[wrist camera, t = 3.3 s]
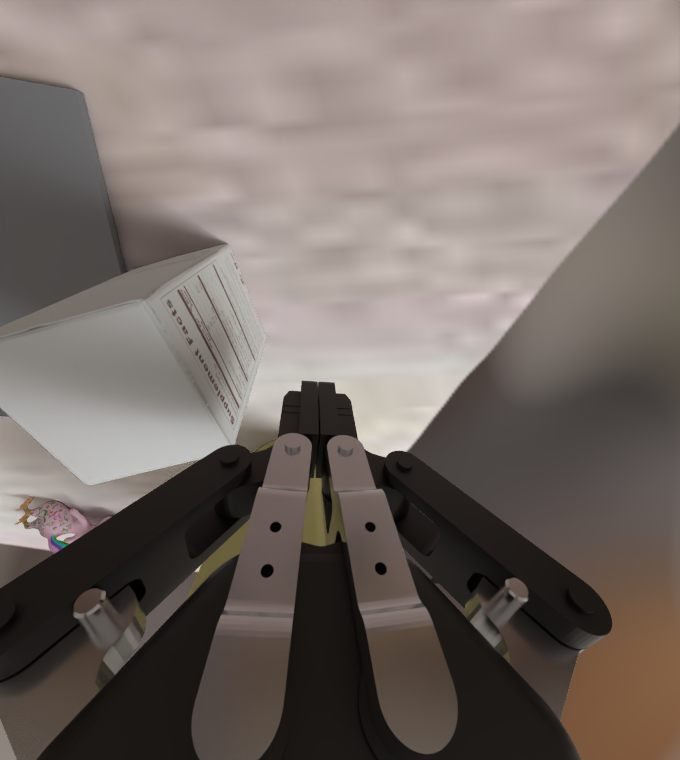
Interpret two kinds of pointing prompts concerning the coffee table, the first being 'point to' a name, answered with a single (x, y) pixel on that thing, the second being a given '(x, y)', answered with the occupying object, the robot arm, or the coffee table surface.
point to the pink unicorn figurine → (57, 522)
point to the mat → (50, 201)
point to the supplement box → (136, 367)
